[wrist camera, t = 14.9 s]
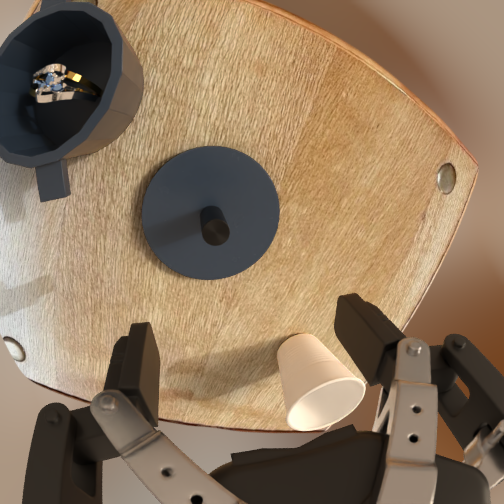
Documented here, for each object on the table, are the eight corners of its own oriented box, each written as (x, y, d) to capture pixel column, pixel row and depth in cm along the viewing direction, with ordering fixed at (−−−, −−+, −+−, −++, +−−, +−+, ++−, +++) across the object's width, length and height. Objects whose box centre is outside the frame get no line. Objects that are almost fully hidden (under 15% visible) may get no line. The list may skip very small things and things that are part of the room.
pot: (39, 191, 23) (-10, 216, 15) (36, 35, 16) (-7, 12, 8) (149, 170, 26) (129, 187, 17) (146, 5, 19) (131, -41, 10)
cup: (247, 353, 37) (268, 418, 27) (306, 307, 36) (345, 365, 26) (289, 381, 41) (313, 437, 31) (340, 342, 40) (376, 394, 30)
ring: (117, 88, 21) (90, 71, 14) (102, 118, 22) (71, 113, 15) (61, 71, 19) (23, 55, 12) (48, 100, 20) (6, 93, 13)
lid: (154, 281, 30) (149, 312, 25) (135, 153, 25) (122, 158, 19) (276, 267, 33) (294, 293, 27) (275, 142, 27) (296, 144, 22)
